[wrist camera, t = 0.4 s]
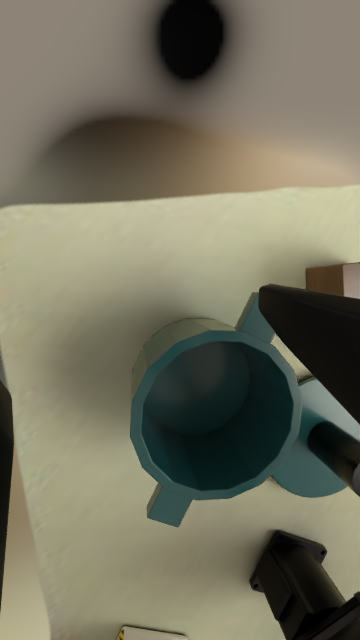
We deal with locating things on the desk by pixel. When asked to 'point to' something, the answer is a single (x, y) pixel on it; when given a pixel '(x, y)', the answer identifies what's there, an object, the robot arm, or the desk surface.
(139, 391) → the pot
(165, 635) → the medicine bottle
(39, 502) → the desk surface
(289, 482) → the lid
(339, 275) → the walnut block
